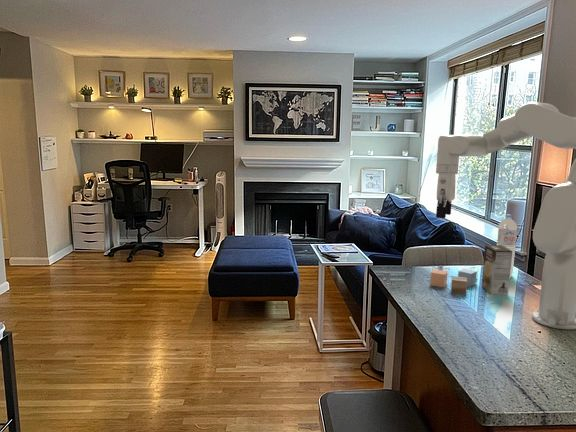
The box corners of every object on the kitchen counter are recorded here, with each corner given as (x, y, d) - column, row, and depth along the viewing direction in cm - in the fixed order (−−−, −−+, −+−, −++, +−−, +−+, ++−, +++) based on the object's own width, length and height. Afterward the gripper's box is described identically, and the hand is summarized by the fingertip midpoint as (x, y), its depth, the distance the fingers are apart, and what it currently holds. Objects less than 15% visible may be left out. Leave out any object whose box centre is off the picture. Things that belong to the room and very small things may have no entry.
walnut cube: (466, 295, 157) (467, 281, 156) (450, 293, 159) (452, 279, 158) (465, 290, 162) (466, 277, 161) (451, 289, 163) (452, 276, 163)
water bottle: (493, 276, 180) (499, 215, 176) (494, 271, 186) (499, 212, 182) (512, 278, 177) (518, 216, 173) (512, 274, 183) (518, 214, 179)
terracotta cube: (443, 287, 165) (444, 274, 164) (430, 285, 168) (431, 272, 167) (446, 284, 169) (447, 271, 169) (433, 281, 172) (434, 269, 171)
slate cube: (470, 286, 167) (471, 273, 166) (457, 283, 170) (458, 271, 169) (475, 283, 170) (476, 271, 169) (463, 280, 174) (464, 268, 173)
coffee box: (480, 286, 167) (484, 244, 164) (497, 286, 167) (501, 244, 164) (491, 294, 158) (495, 250, 155) (509, 294, 158) (513, 250, 155)
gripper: (453, 171, 152) (449, 220, 155) (462, 169, 167) (458, 214, 170) (430, 170, 156) (427, 218, 159) (441, 168, 171) (438, 212, 174)
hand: (443, 216), depth 164 cm, fingers open, 9 cm apart
